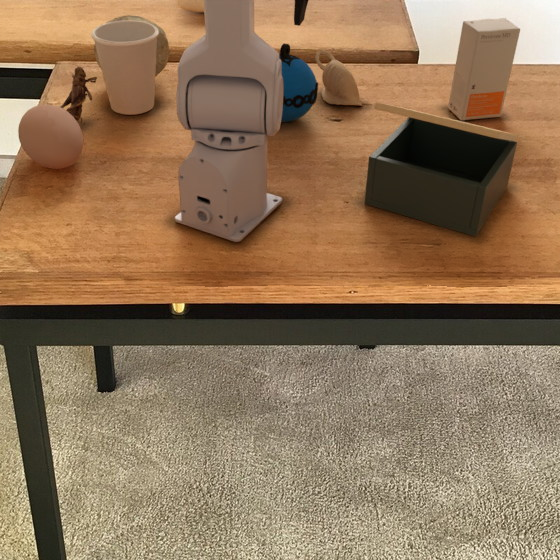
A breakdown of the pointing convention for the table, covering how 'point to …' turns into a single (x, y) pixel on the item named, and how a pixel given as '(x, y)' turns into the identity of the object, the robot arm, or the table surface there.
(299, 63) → the ornament
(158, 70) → the sculpture
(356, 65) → the table surface
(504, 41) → the cosmetic box
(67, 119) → the egg
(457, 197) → the chest
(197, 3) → the cup
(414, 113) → the lid
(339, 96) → the decorative ornament
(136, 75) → the dixie cup
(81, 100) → the insect
